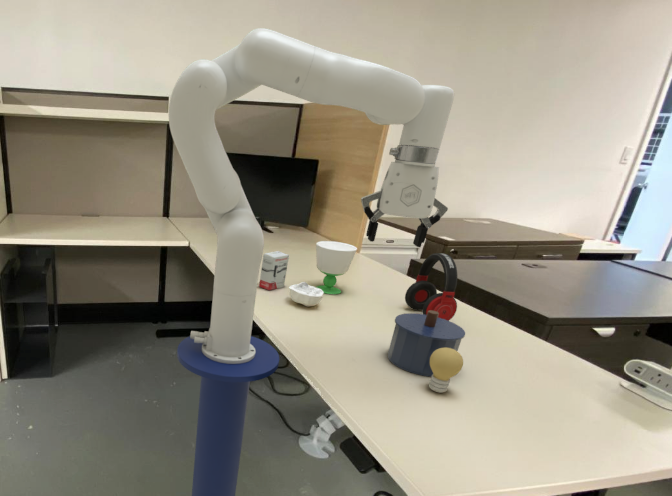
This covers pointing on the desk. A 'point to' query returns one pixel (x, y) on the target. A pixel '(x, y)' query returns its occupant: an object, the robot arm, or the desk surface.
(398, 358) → the pot
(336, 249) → the cup
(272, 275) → the ink box
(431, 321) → the pot lid
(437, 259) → the headphones
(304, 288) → the cell model
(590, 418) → the desk surface
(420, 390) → the desk surface
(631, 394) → the desk surface
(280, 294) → the desk surface
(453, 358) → the light bulb
